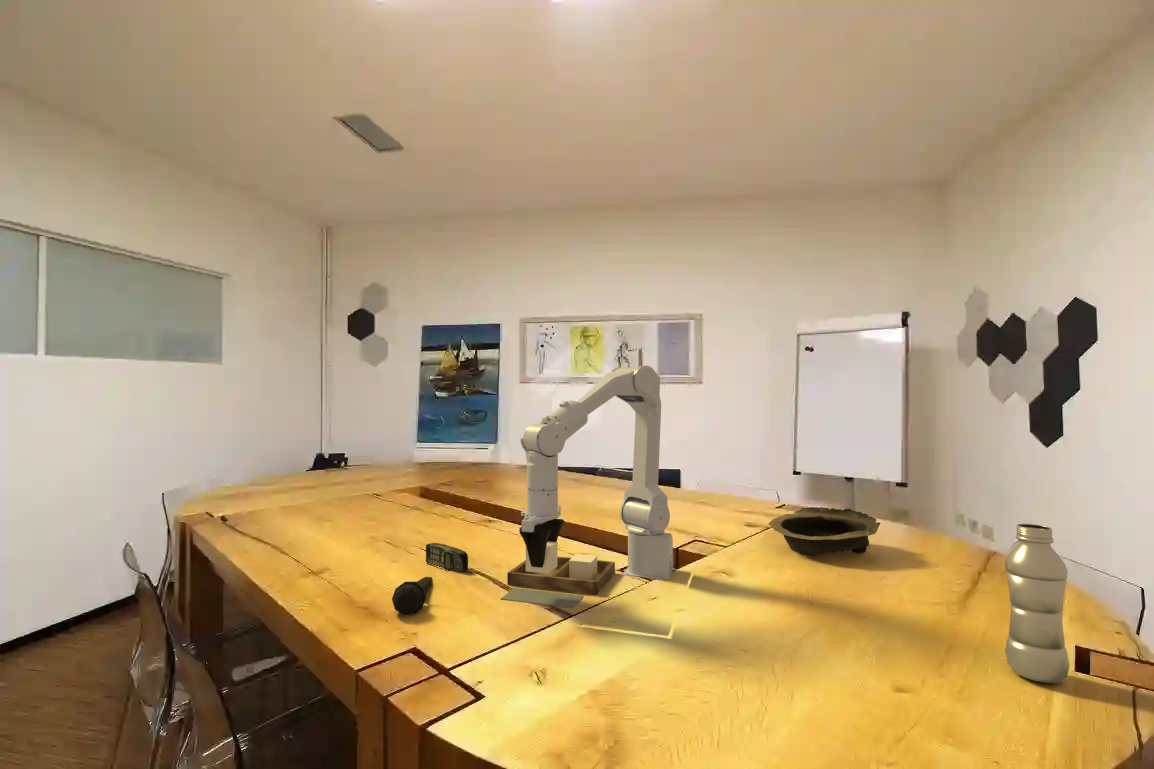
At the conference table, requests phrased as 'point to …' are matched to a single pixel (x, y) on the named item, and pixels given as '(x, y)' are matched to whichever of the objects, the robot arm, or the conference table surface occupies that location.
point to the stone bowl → (826, 530)
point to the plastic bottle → (1036, 607)
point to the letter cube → (549, 561)
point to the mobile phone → (447, 557)
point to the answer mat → (543, 597)
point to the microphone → (411, 596)
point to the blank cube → (583, 567)
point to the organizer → (561, 578)
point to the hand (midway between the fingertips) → (542, 562)
